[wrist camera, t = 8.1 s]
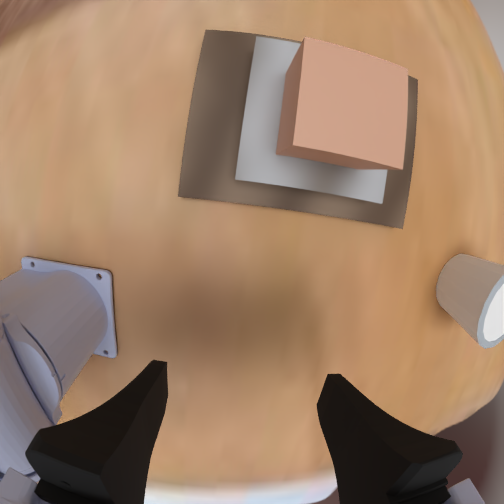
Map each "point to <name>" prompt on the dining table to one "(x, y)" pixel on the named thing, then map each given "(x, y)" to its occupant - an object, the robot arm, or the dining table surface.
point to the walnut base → (225, 133)
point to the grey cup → (474, 297)
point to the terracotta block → (344, 108)
